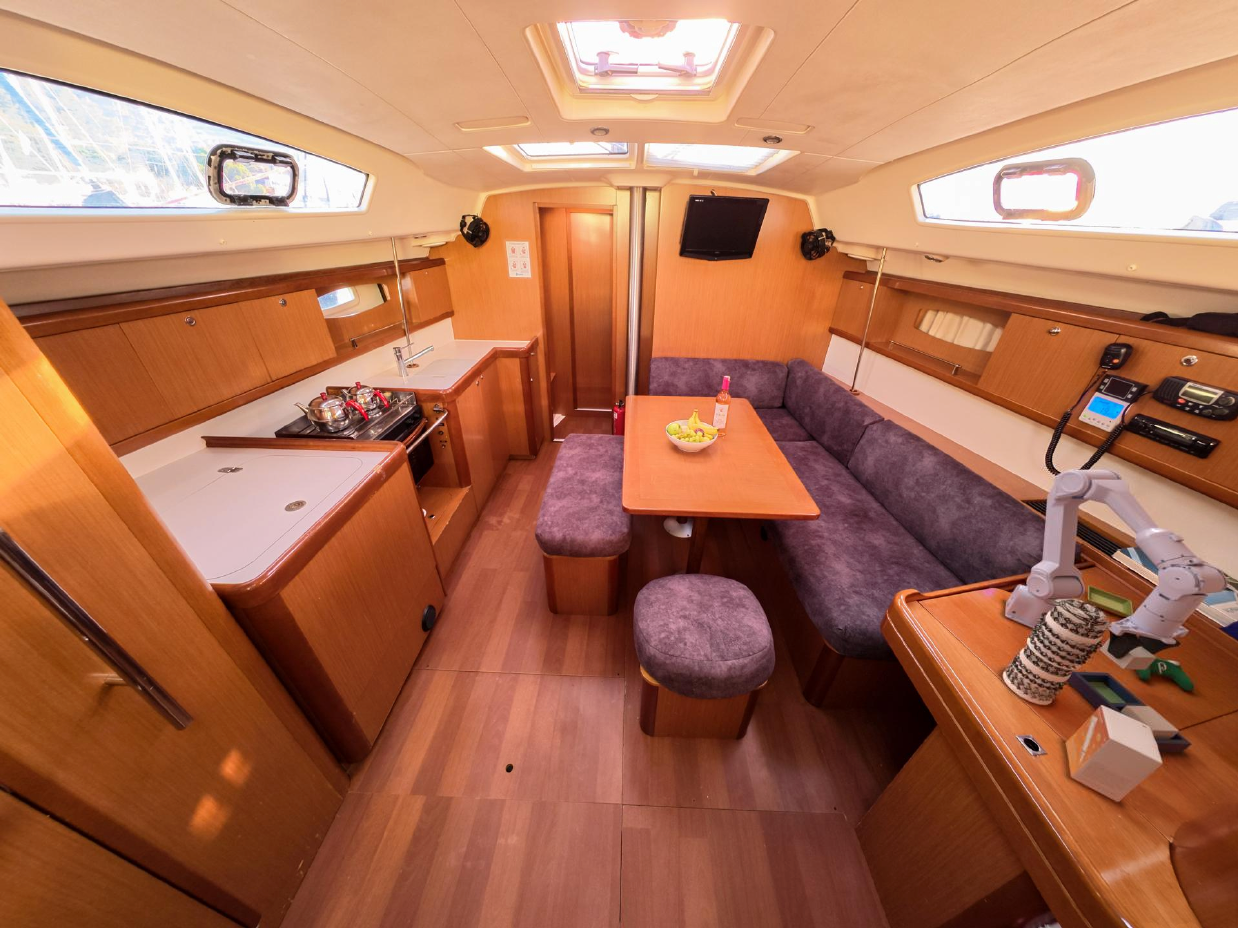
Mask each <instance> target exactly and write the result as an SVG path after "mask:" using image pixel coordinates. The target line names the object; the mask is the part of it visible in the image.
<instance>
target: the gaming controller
mask: <svg viewBox="0 0 1238 928" xmlns="http://www.w3.org/2000/svg"><path fill="white" fill-rule="evenodd" d="M1180 664H1181V662H1179V661H1176V660H1170V659H1169V660H1166V659H1163V658H1159V657H1157V658H1156V659H1155V660H1154V661H1153V662H1152V663H1151V664H1150V665H1149V666H1148V668H1147V669H1146V670H1141V669H1135V671H1136V673H1137V674H1138V676H1139V677H1140V679H1141V680H1143V681H1149V680H1150V678H1151V674H1153V675H1154V674H1155V675H1158V676H1162V677H1166V678H1171V679H1172V680H1174V682H1175V683H1176V684H1178V686H1180V688H1182V689H1183V690H1185V691H1190V692H1193V691H1194V690H1195V685H1194V682H1193V681H1192V680H1191V678H1190V677H1189V675H1188V674H1187V673H1186V672H1185V670H1183V668H1182V666H1181V665H1180Z"/></svg>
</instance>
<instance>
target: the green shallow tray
mask: <svg viewBox="0 0 1238 928" xmlns="http://www.w3.org/2000/svg"><path fill="white" fill-rule="evenodd" d="M1087 601H1088V603H1090V604H1092V605H1094V606H1095V607H1097V608H1098V609H1100V610H1104V611H1106V612H1109V613H1111V614H1114V615H1116V616H1119V617H1121V618H1127V617H1129V616H1132V615H1133V614H1134V610H1133V602H1132V600H1131V599H1127V598H1125V597H1122V596H1120V595H1117V594H1114V593H1111V592H1108V591H1106V590H1104V589H1101V588H1098V587H1095V586H1093V585H1087Z"/></svg>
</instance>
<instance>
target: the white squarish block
mask: <svg viewBox="0 0 1238 928" xmlns="http://www.w3.org/2000/svg"><path fill="white" fill-rule="evenodd" d="M1109 641H1110V637H1109V638H1108V639H1107V640H1106V641H1105V642H1104V643H1103V644H1102V647H1100V648H1099V651H1100V652H1101V653H1103V654H1104V655H1105V656H1106V657H1107V658H1109V659H1110V660H1111V661H1113V662H1114V663H1115V664H1116V665H1118V666H1119V667H1120V668H1121V669H1123V670H1136V669H1141V670H1146V669H1147V668H1148V666H1149V665H1150V664H1151V663H1152V662H1153V661H1154V660H1155V659H1156V658H1158V657H1157V656H1155V654H1154V655H1153V654H1151V653H1150V652H1148V651H1147V650H1146V649H1144V648H1143V647H1142V646H1140V647H1138V648H1135V649H1133V650H1132V651H1130V652H1129V653H1128V654H1127V655H1125V656H1124V657H1122V658H1120V659H1116V658H1115V657H1114V656H1112V655H1111V654H1110V653H1109V652H1107V650H1108V645H1109Z"/></svg>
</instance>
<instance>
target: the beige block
mask: <svg viewBox="0 0 1238 928" xmlns="http://www.w3.org/2000/svg"><path fill="white" fill-rule="evenodd" d="M1121 713H1123V714H1124V715H1126V716H1128V717H1130V718H1132V719H1135V720H1137V721H1139V722H1141V723H1143V724H1145V725H1147V726H1150V728H1151V731H1152V733H1153V736H1154V739H1171V738H1172V737H1173V736H1174V735H1175V734H1177V733H1180V730H1179V729H1177V727H1175V726H1174V725H1173V724H1172V723H1171V722H1170V721H1168V720H1167V719H1166V718H1165V717H1164V716H1162V715H1161V714H1160V713H1159V712H1158V711H1156V710H1155V709H1154V708H1153V707H1151V706H1149V705H1147V706H1126V707H1125V708H1124V709H1123V710H1122V711H1121Z"/></svg>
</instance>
